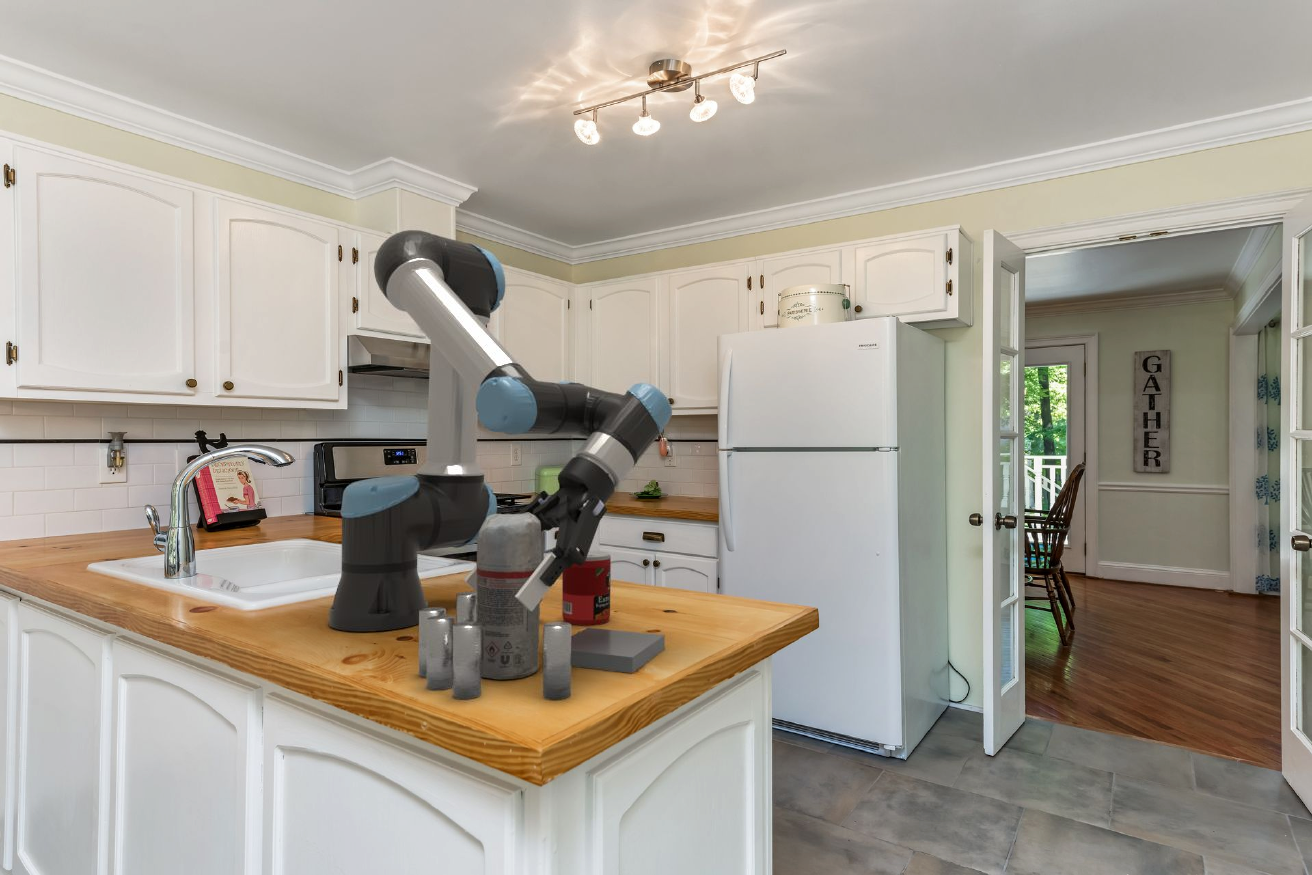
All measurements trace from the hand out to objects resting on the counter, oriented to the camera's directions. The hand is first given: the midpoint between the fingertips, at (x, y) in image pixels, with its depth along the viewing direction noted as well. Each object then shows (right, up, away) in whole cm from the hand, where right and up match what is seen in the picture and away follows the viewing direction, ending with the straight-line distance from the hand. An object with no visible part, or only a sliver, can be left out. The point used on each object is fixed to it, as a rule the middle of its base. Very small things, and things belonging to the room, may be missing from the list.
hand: (495, 595), depth 93 cm
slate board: (+14, -10, +8) cm, 19 cm away
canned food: (+9, -11, +29) cm, 32 cm away
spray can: (+1, -10, +1) cm, 10 cm away
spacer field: (+1, -10, 0) cm, 10 cm away
